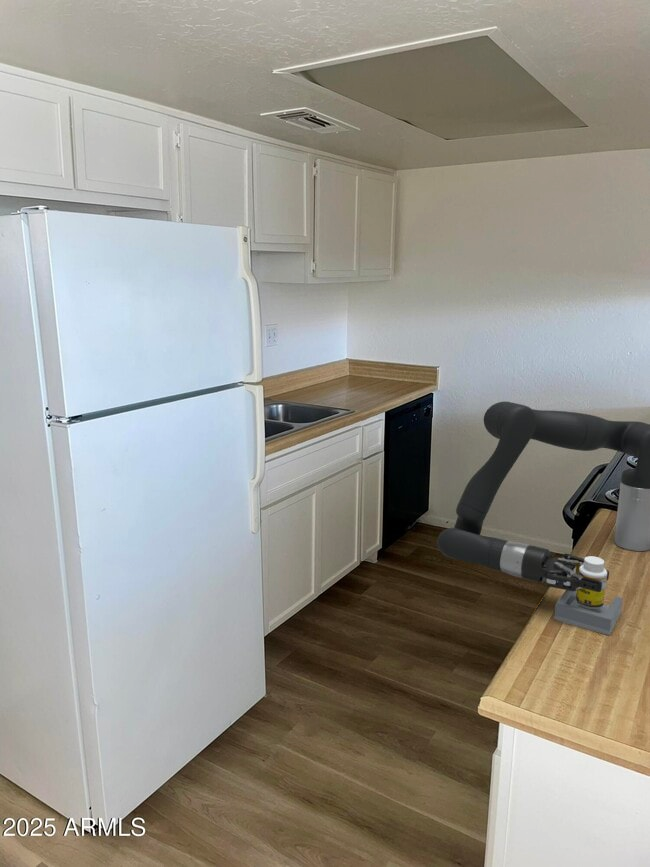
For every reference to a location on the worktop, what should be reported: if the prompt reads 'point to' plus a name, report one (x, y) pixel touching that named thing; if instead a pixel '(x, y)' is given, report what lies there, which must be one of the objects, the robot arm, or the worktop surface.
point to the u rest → (587, 613)
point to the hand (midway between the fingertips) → (604, 581)
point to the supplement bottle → (595, 571)
